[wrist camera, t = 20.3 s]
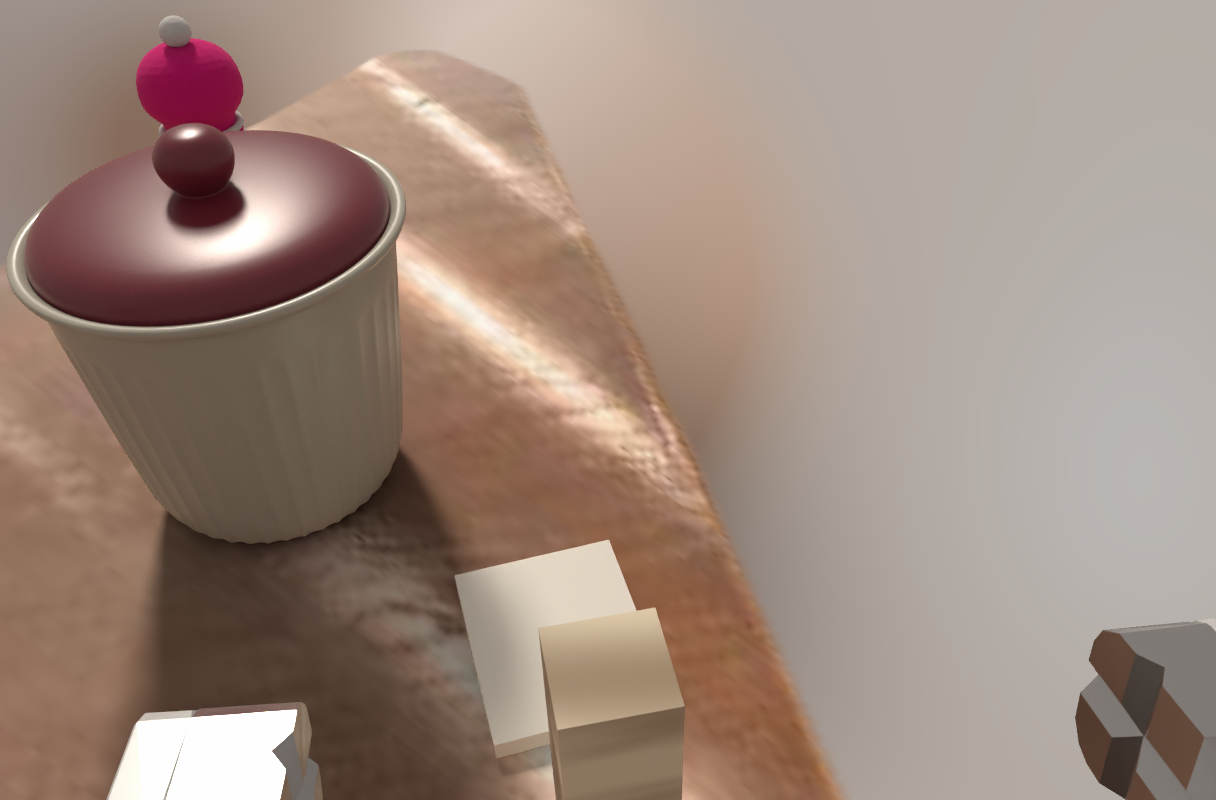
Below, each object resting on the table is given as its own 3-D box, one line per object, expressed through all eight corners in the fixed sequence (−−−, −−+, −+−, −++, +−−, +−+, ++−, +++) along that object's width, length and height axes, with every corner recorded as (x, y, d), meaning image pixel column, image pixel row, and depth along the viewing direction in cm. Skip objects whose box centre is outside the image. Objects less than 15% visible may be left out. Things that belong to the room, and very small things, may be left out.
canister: (132, 405, 67) (2, 76, 53) (425, 355, 70) (372, 33, 57) (103, 631, 53) (-81, 265, 40) (468, 555, 56) (412, 194, 43)
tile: (670, 698, 48) (608, 539, 55) (494, 745, 46) (454, 575, 54) (670, 719, 49) (609, 560, 56) (497, 766, 47) (458, 596, 55)
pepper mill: (258, 265, 79) (183, -13, 66) (326, 296, 75) (261, 9, 63) (176, 313, 74) (78, 24, 62) (245, 348, 71) (157, 50, 58)
